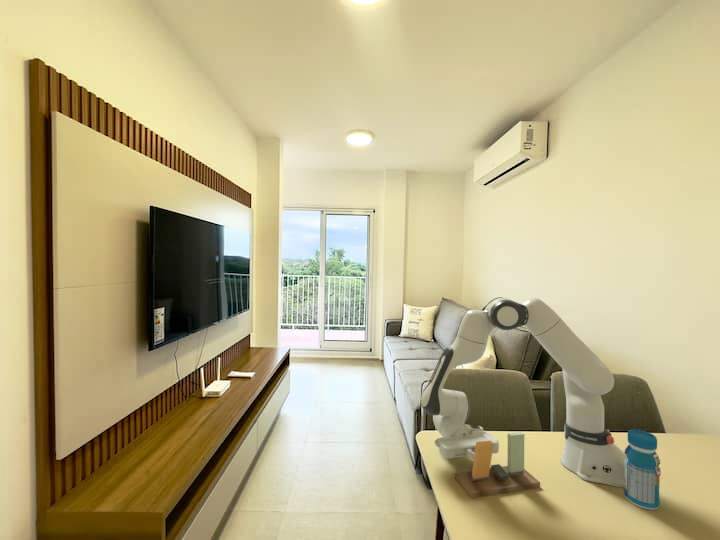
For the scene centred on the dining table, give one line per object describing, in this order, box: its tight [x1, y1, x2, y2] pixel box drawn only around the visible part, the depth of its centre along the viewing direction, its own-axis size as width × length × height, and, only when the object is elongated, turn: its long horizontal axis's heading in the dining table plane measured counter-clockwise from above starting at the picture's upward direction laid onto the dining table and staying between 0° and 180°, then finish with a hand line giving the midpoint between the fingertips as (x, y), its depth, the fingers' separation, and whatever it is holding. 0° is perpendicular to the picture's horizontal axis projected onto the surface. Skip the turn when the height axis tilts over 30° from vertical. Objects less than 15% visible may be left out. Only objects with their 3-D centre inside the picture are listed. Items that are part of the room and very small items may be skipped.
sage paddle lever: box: [507, 431, 525, 476], centre depth 111 cm, size 5×2×13 cm, turn 102°
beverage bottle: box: [623, 429, 662, 511], centre depth 101 cm, size 8×8×20 cm
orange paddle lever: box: [471, 440, 493, 481], centre depth 107 cm, size 5×2×13 cm, turn 102°
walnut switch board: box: [454, 465, 541, 499], centre depth 110 cm, size 24×10×2 cm, turn 102°
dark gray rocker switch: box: [490, 463, 509, 480], centre depth 110 cm, size 3×5×2 cm, turn 12°
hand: (480, 458), depth 108 cm, fingers closed, pressing on orange paddle lever
